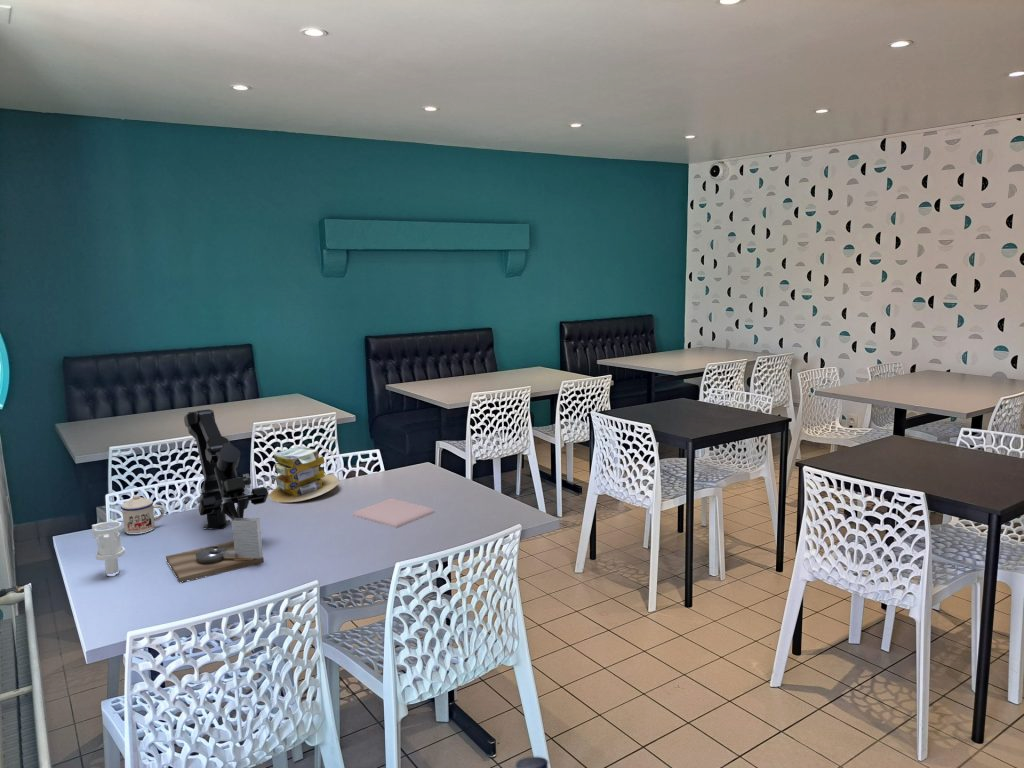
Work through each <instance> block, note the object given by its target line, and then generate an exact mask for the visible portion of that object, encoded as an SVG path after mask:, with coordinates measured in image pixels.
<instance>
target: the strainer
mask: <svg viewBox="0 0 1024 768" xmlns="http://www.w3.org/2000/svg"><path fill="white" fill-rule="evenodd" d="M122 523H123V522H121V521H115V520H113V521H112V520H111V521H105V522H103V521H101V522H99V523H96V524H95V523H94V524H91V529H92V530H91V531H92V536H93V539H96V545H97V551H96V552H95V554H94V555H95V559H96V560H98V561H104V566H105V574H113V573H116V572H118V571H119V561H118V558H121V557H123V556H124V555H125V554H126V549H125V547H124V546H122V541H121V533H120V532H119V531H121V530H122V529H123V524H122ZM113 526H115V527H113ZM107 527H112V528H108V529H107ZM119 572H120V571H119Z"/></svg>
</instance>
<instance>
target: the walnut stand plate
mask: <svg viewBox="0 0 1024 768" xmlns="http://www.w3.org/2000/svg"><path fill="white" fill-rule="evenodd" d="M215 546H220V547H225V548H226V549H227V551H235V550H234V540H231V541H228V542H222V543H219V544H214V545H210V546H205V547H201V548H196V549H192V550H187V551H183V552H180V553H179V552H178V553H174V554H170V555H166V556H165V560H167V561H166V563H167V562H168V563H169V565H170V566H171V568H172V569H171V568H170V569H171V571H172V570H173V571H174V573H175V574H174V573H173V574H174V576H175V575H176V576H177V577H176V576H175V577H176V578H178V579H177V581H178V580H179V581H180V582H182V581H186V582H188V581H187V580H190V581H193V580H192V579H194V580H197V579H196V578H198V579H202V578H205V576H207V577H210V575H211V576H214V575H218V574H222V573H225V572H227V573H228V572H230V571H233V570H238V569H242V568H243V569H244V568H246V567H251V566H255V565H259V564H263V563H264V561H265V560H264V556H262V557H261V558H254V559H253V560H234V559H235V558H224V559H222V560H220V561H217V562H213V563H200V562H197V561H196V553H197V552H198V551H199V550H202V549H204V548H208V547H215ZM168 563H167V564H168ZM169 565H168V566H169ZM170 566H169V567H170ZM173 571H172V572H173ZM201 577H202V578H201ZM179 581H178V582H179ZM180 582H179V583H180ZM182 583H183V582H182Z"/></svg>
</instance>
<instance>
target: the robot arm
mask: <svg viewBox="0 0 1024 768" xmlns="http://www.w3.org/2000/svg"><path fill="white" fill-rule="evenodd" d="M215 417H216V416H215V411H214V410H213V409H209V408H208V409H200V410H199V409H198V410H197V411H196V410H195V411H188V412H187V413H186V414H185V415H184V417H183V422H184V425H185V427H186V428H187V432H188V434H189V435H191V436H192V437H193V438H194V439H195V442H196V443H195V444H196V447H197V448H196V449H197V451H198V456H199V461H200V466H201V470H202V475H203V479H204V482H203V484H202V487H201V493H200V496H199V501H198V512H199V516H205V515H206V524H205V525H204V526H203V527H202V529H203V528H212V529H211V530H214V529H215V530H217V529H225V528H226V527H227V526H228V525H229V524H230V523H231V521H232V520H233V519H234V518H244V513H245V510H246V509H248V506H249V503H251V504H252V505H254V506H255V505H259V504H264V503H266V502H267V499H268V495H269V491H268V489H267V487H265V486H260V487H256V488H254V487H253V488H252V490H251V493H247V494H246V493H245V488H246V486H250V485H251V483H252V480H251V476H250V473H243V474H242V475H241V477H240V476H238V474H237V470H236V469H237V468H238V466H239V463H240V459H241V451H240V449H238V447H236V446H234V445H233V444H232V443H231V441H230V440H229V438H227V437H224V436H223V435H222V434H221V431H220V429H219V427H218V424H217V423H216V418H215ZM244 493H245V494H244ZM235 504H236V505H235ZM227 517H229V518H230V519H231V520H230V519H227Z"/></svg>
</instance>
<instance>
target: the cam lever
mask: <svg viewBox="0 0 1024 768" xmlns="http://www.w3.org/2000/svg"><path fill="white" fill-rule="evenodd" d="M231 525H232V526H231V528H232V538H233V541H234V550H235V551H227V549H226V548H225V547H220V546H215V547H209V546H207V547H208V548H205V547H203V548H204V549H202V550H199V551H198V552H197V553H196V561H197V562H200V563H213V562H217V561H220V560H222V559H224V558H261V557H262V556H263V543H262V534H261V533H262V531H261V520H260V517H243V518H234V519H233V520H232V519H231ZM263 557H264V556H263Z"/></svg>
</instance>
